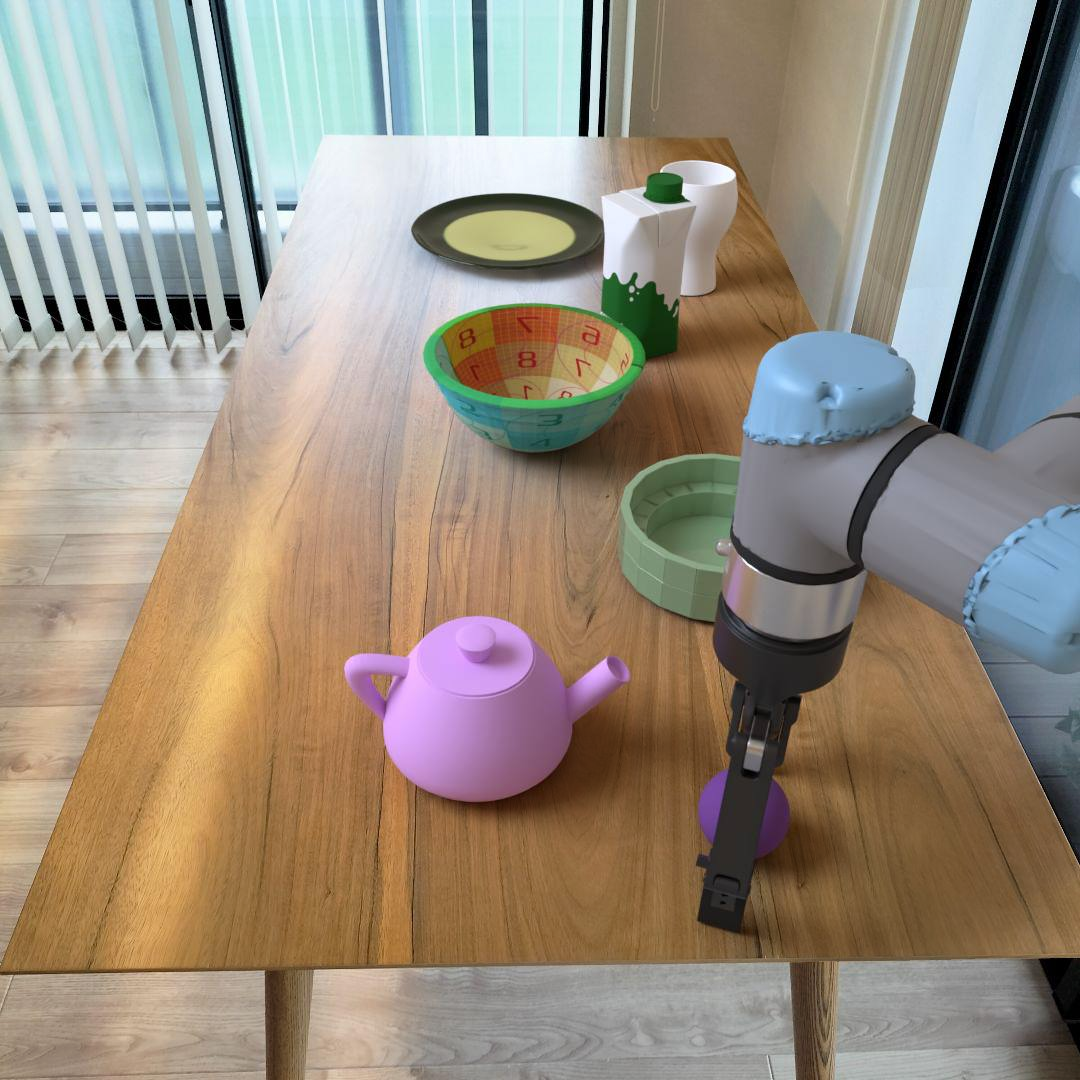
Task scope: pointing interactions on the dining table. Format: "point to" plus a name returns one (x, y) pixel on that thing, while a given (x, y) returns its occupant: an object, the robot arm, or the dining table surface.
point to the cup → (705, 219)
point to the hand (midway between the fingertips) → (737, 838)
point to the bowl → (534, 372)
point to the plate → (509, 231)
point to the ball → (772, 823)
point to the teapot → (478, 708)
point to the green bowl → (679, 531)
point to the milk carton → (646, 259)
